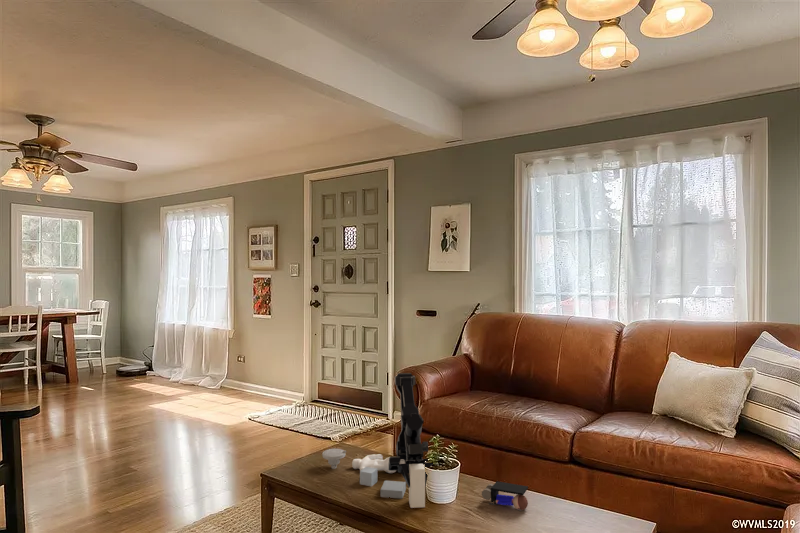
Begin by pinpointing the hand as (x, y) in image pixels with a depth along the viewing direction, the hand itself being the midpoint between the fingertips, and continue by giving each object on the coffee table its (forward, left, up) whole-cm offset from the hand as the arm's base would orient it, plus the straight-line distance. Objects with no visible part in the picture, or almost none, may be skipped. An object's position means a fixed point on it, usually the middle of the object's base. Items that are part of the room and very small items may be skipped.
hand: (417, 486), depth 172 cm
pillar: (-1, -1, -7) cm, 7 cm away
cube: (-6, -26, -7) cm, 27 cm away
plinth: (-4, -13, -7) cm, 15 cm away
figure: (-17, -31, -7) cm, 36 cm away
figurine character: (-17, +25, -7) cm, 31 cm away
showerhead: (-10, -47, -7) cm, 48 cm away
